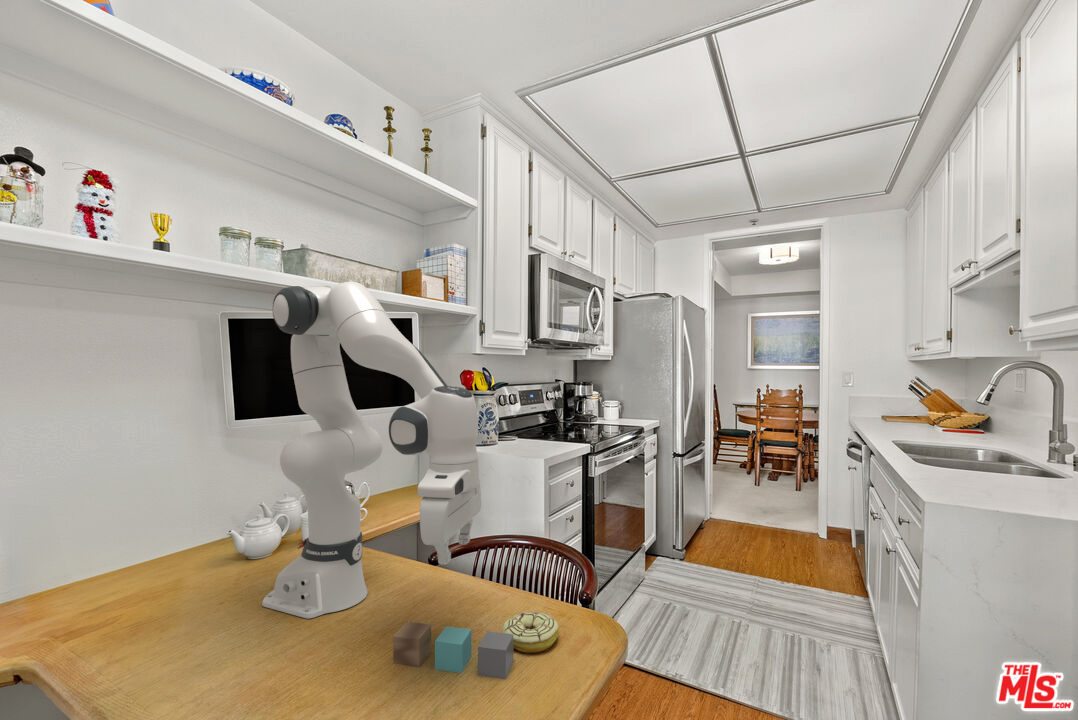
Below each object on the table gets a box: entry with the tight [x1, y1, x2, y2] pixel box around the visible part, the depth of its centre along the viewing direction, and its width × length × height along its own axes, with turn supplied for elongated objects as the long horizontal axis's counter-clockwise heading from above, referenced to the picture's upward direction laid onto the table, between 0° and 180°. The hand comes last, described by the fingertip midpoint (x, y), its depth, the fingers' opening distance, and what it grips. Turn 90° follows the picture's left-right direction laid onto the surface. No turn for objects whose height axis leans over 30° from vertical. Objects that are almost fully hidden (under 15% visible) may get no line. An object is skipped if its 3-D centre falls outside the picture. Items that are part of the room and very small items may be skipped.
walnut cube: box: [392, 621, 432, 668], centre depth 89 cm, size 5×5×5 cm
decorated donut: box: [502, 611, 560, 654], centre depth 94 cm, size 10×11×4 cm
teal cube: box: [434, 626, 473, 674], centre depth 87 cm, size 5×5×5 cm
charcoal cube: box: [477, 630, 514, 680], centre depth 85 cm, size 5×5×5 cm
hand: (455, 552), depth 87 cm, fingers open, 8 cm apart
